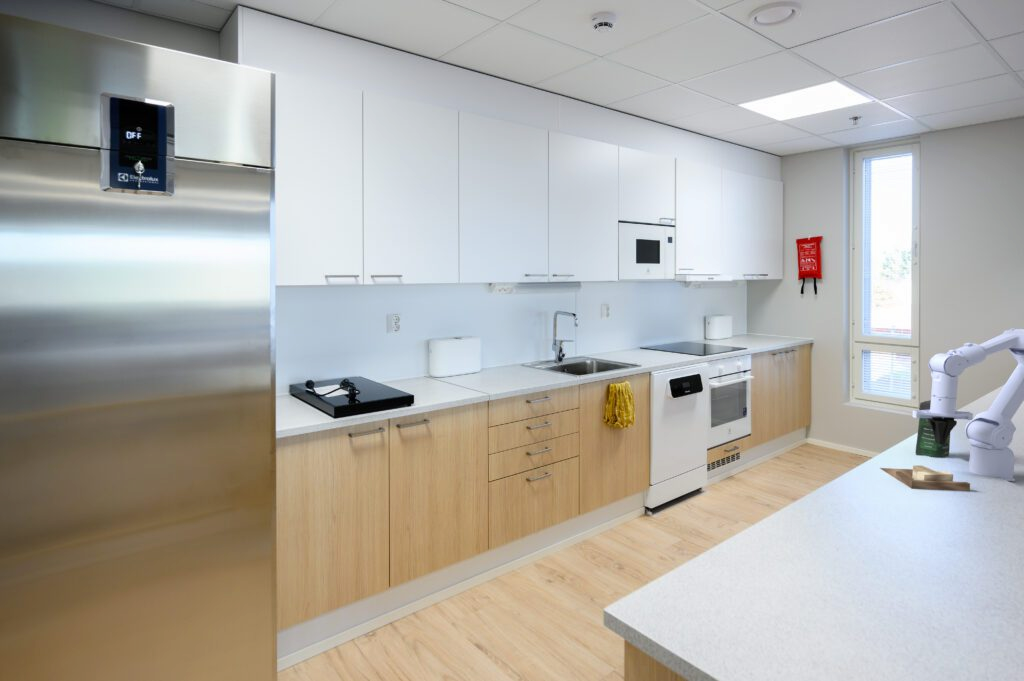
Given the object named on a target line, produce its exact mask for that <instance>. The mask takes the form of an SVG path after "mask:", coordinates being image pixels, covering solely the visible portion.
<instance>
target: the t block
mask: <svg viewBox="0 0 1024 681" xmlns="http://www.w3.org/2000/svg"><path fill="white" fill-rule="evenodd" d="M912 469H913V475H912V478H914V479H916V480H930V481H952V482H954V473H952V472H949V471H946V470H941V471H940V470H939V471H937V470H934V469H931V468H930V467H926V466H925V465H912Z"/></svg>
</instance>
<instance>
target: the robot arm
mask: <svg viewBox="0 0 1024 681" xmlns="http://www.w3.org/2000/svg"><path fill="white" fill-rule="evenodd" d="M1005 350H1006V351H1007V350H1009V352H1010V354H1011V356H1012V357H1013V359H1014V360H1016V361H1017V366H1016V367H1015V369H1013V372H1012V373H1011V375H1010V376H1009V378H1008V379H1007V381H1006V382H1005V383H1004V385H1003V387H1002V388H1001V389H1000V392H999V393H998V395H997V396H996V398H995V399H994V401H993V402H992V404H991V405H990V406H989V407H988V410H985V411H982V412H980V413H979V412H978V413H976V415H975V416H974V413H972V412H970V411H958V410H957V395H958V382H959V376H961V375H962V374H963V373H964V371H965V369H968V368H970V367H972V366H975V365H978V364H980V363H982V362H985V360H986V358H987V356H989V355H992V354H995V353H999V352H1002V351H1005ZM927 367H928V369H929V371H930V377H931V378H932V379H931V383H932V384H931V392H930V393H931V396H930V400H931V405H930V410H919V409H918V410H917V409H914V410H912V416H911V417H912V418H914V419H919V418H927V420H928V422H929V423H930V425H931V428H932V430H933V433H934V437H935V443H937V444H940V445H945V442H946V440H947V437H948V435H949V433H950V434H951V432H952V431H953V429H954V428H955V427H956V426H957V424H958V422H957V420H967V421H968V422H967V423H966V425H965V426H964V434H965V437H966V438H967V439H968V443H970V450H969V462H968V471H969V472H970V473H972V474H976V475H978V476H979V475H980V476H985V477H990V478H991V477H993V478H995V477H997V478H1001V479H1003V480H1004V481H1007V482H1015V481H1016V479H1015V478H1014V473H1015V472H1014V471H1015V462H1016V461H1015V460H1016V459H1015V454H1014V451H1013V450H1012V449H1011V448H1010V447H1009V445H1011V444H1012V442H1013V438H1014V433H1015V432H1016V430H1017V427H1016V425H1015V424H1014V422H1013V421H1012V419H1013V418H1014V416H1015V415H1016V413H1017V411H1018V410H1019V409H1020V407H1021V405H1022V404H1023V402H1024V328H1020V327H1019V328H1018V327H1013V328H1010V329H1006V330H1004V331H1003V332H1002V334H999V335H997V336H995V337H993V338H991V339H989V340H986V341H984V342H982V343H978V344H977V343H974V342H973V343H972V342H965V343H963V346H960V347H958V348H956V349H949V350H948V351H947V352H946V353H942V352H941V353H940V352H939V353H936V354H935V355H933V356H932V357H931V358H930V360H929V362H927ZM973 416H974V418H973Z"/></svg>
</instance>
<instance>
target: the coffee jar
mask: <svg viewBox="0 0 1024 681" xmlns="http://www.w3.org/2000/svg"><path fill="white" fill-rule="evenodd" d="M930 405H931V399H930V400H925V401H922V402H920V403H919V409H918V410H930ZM950 444H951V432H950V433H949V435H948V437H947V440H946V442H945V445H940V444H937V443H935V437H934V433H933V430H932V428H931V425H930V423H929V422H928V420H927V418H918V427H917V436H916V444H915V445H916V446H915V456H920V457H921V456H922V457H924V456H925V457H929V458H935V459H942V458H946V457H950V447H951V446H950Z"/></svg>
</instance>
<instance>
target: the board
mask: <svg viewBox="0 0 1024 681" xmlns="http://www.w3.org/2000/svg"><path fill="white" fill-rule="evenodd" d="M879 469H880V470H881V471H883V472H885V473H887V474H888V475H890V476H891V477H893V478H894V479H896V480H897V481H899V482H900V483H902V484H904V485H905V486H906V487H908V488H910V489H911V490H912V489H915V490H930V491H932V490H934V491H954V492H970V491H971V483H970V482H968V481H953V482H952V481H930V480H916V479H914V478H912V475H913V468H912V469H911V468H890V467H889V468H888V467H879Z"/></svg>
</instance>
